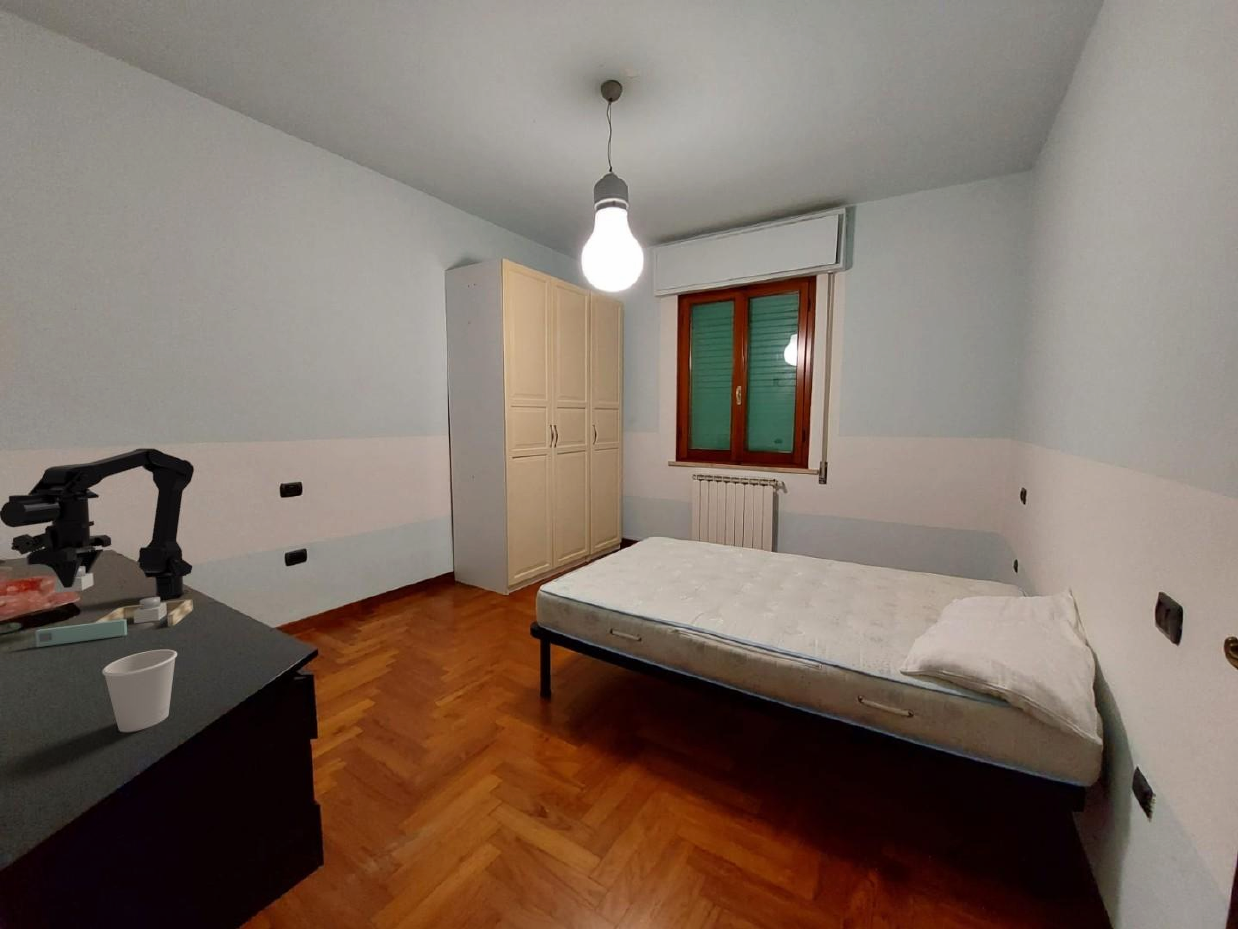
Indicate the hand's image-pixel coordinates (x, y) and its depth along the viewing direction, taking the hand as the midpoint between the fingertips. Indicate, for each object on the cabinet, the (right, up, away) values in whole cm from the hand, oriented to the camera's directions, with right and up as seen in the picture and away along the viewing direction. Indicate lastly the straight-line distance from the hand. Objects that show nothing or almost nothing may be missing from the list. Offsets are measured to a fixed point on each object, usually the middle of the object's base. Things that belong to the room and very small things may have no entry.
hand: (74, 584), depth 109 cm
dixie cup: (+53, -13, -35) cm, 65 cm away
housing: (+13, -11, +4) cm, 17 cm away
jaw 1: (0, -1, 0) cm, 1 cm away
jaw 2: (+12, -10, +6) cm, 17 cm away
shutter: (+9, -11, -6) cm, 16 cm away
